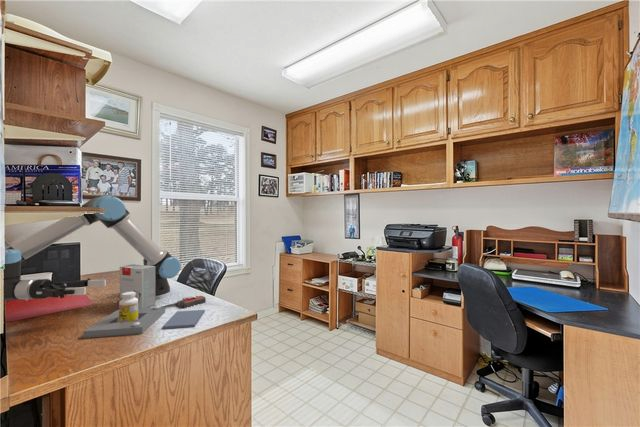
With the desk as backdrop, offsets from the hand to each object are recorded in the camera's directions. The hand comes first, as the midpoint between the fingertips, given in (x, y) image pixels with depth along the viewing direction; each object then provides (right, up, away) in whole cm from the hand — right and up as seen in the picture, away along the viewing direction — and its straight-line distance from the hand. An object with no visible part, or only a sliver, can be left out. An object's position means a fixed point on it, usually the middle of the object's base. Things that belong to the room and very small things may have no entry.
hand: (95, 286), depth 115 cm
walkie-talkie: (+24, -17, +26) cm, 39 cm away
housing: (+12, -16, +2) cm, 20 cm away
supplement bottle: (+12, -16, +2) cm, 20 cm away
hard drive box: (+1, -17, +26) cm, 31 cm away
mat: (+33, -16, +6) cm, 38 cm away
